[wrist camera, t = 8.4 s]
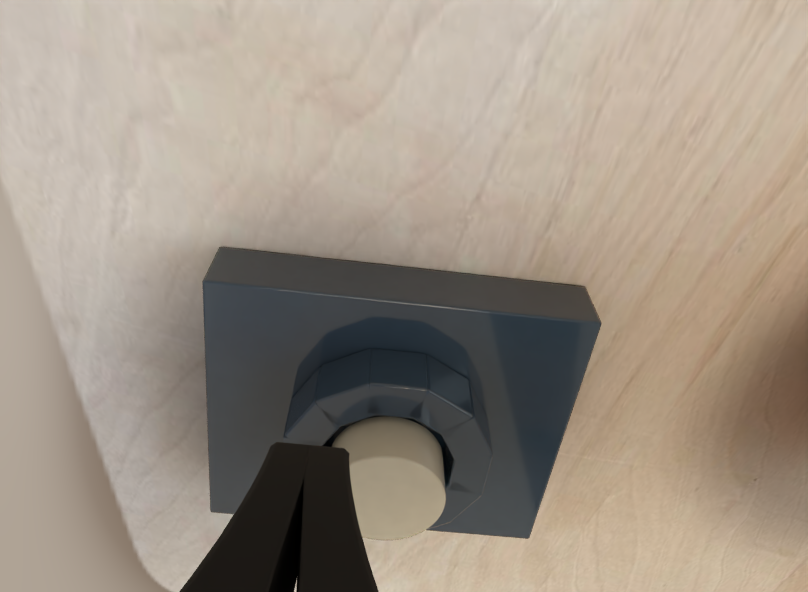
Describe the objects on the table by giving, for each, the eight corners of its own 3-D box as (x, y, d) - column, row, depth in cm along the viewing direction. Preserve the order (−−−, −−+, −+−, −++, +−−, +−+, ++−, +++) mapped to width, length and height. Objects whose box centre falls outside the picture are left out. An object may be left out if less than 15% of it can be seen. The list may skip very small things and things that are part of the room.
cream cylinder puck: (326, 492, 22) (320, 536, 21) (334, 409, 20) (328, 451, 19) (434, 501, 23) (436, 545, 21) (451, 421, 21) (455, 463, 19)
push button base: (223, 468, 27) (197, 554, 23) (218, 245, 22) (184, 314, 18) (520, 494, 28) (537, 581, 24) (586, 286, 22) (619, 359, 19)
